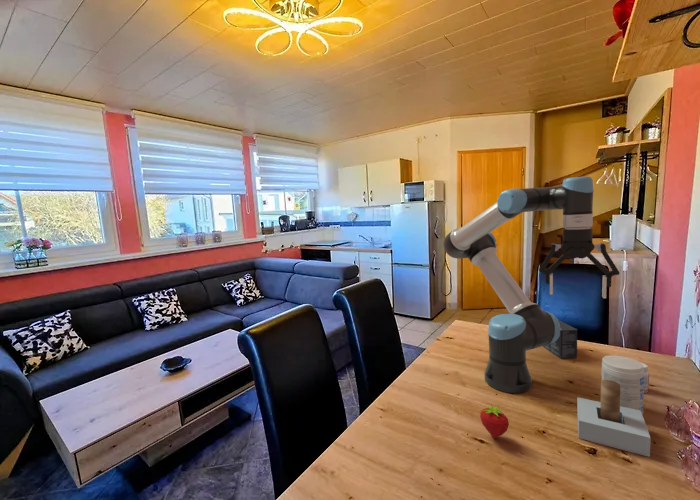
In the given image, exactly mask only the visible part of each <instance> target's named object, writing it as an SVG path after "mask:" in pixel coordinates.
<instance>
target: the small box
mask: <svg viewBox="0 0 700 500" xmlns="http://www.w3.org/2000/svg"><path fill="white" fill-rule="evenodd" d="M558 321H559V324H560V329H561V330H560V336H559V338H558V339H557V340H556V341H555V342H554V343H551V344H549V345H547V346H542V347H543V348H544V349H546V350H547V351H548V352H550V353H552V354H553V355H554V356H556V357H558V358H559V359H561V360H563V359H564V360H565V359H577V358H578V328H575V327H574V326H572V325H569V324H567V323H565V322H563V321H561V320H560V319H558Z"/></svg>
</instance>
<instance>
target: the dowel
mask: <svg viewBox="0 0 700 500" xmlns="http://www.w3.org/2000/svg"><path fill="white" fill-rule="evenodd" d="M600 402H601V410H600V419H603V420H608V421H612V422H616V423H620V384H619V383H617V382H614V381H611V380H602V379H601V381H600Z"/></svg>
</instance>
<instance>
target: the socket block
mask: <svg viewBox="0 0 700 500" xmlns="http://www.w3.org/2000/svg"><path fill="white" fill-rule="evenodd" d="M576 399H577V400H576V402H577V403H576V405H577V407H576V414H577V418H576V419H577V432H578V433H577V434H578V439H581V440H585V441H588V442H592V443H597V444H600V445H603V446H607V447H611V448H615V449H618V450H622V451H626V452H630V453H633V454H637V455H641V456H645V457H649V458H651V436H650V432H649V431H648V430H649V429H648V427H647V425H646V421H645V419H644V416H643V414H642V413H641V411H640V410H636V409H631V408H626V407H621V406H620V423H616V422H612V421H608V420H603V419H600V410H601V401H597V400H591V399H588V398H583V397H577V398H576Z"/></svg>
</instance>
